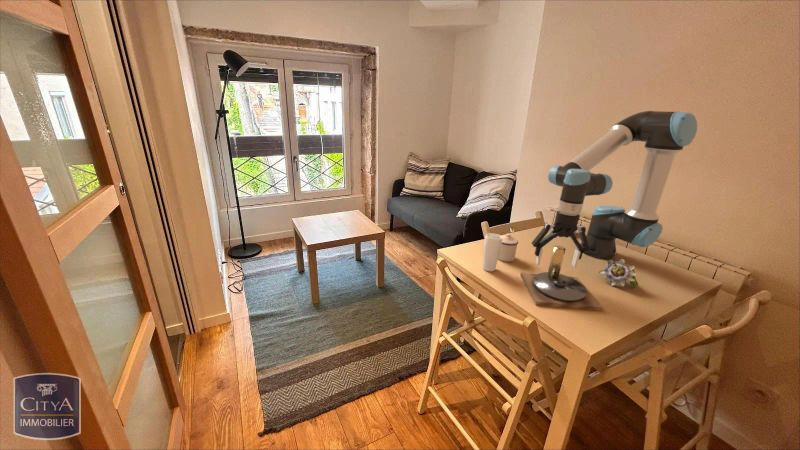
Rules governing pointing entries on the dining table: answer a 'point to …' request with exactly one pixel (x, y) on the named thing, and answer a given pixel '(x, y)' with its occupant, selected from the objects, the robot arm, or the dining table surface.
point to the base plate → (544, 300)
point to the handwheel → (559, 281)
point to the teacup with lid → (508, 248)
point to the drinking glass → (491, 251)
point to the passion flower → (619, 273)
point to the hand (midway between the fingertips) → (555, 264)
